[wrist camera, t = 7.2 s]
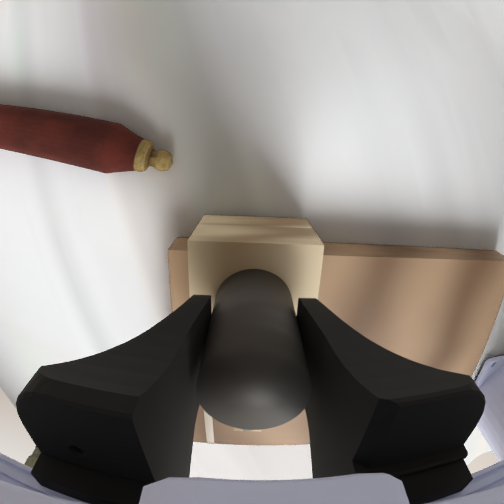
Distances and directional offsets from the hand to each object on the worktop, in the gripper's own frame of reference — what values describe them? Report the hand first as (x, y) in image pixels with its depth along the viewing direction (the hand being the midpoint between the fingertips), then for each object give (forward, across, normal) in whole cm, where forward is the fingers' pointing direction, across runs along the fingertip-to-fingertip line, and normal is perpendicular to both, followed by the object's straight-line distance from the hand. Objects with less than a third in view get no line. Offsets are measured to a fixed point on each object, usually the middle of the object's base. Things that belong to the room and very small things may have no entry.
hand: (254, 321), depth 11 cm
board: (+6, -6, +6) cm, 10 cm away
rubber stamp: (+5, 0, +4) cm, 7 cm away
